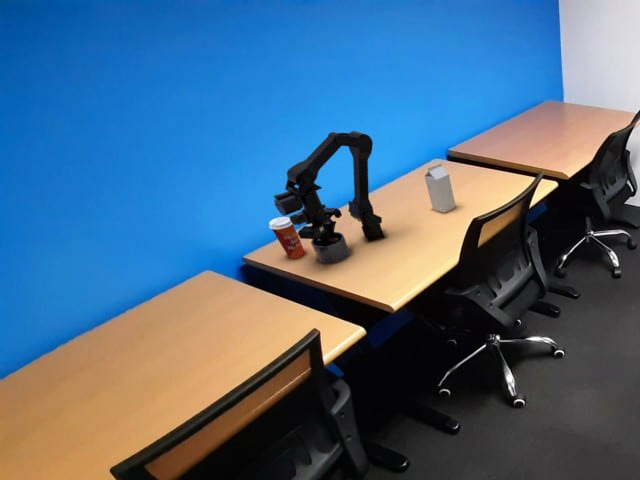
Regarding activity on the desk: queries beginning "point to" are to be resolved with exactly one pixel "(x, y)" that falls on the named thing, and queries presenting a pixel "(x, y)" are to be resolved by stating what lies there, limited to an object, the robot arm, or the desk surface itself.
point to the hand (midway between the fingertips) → (329, 243)
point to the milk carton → (440, 188)
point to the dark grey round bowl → (332, 250)
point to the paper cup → (287, 236)
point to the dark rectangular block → (331, 241)
